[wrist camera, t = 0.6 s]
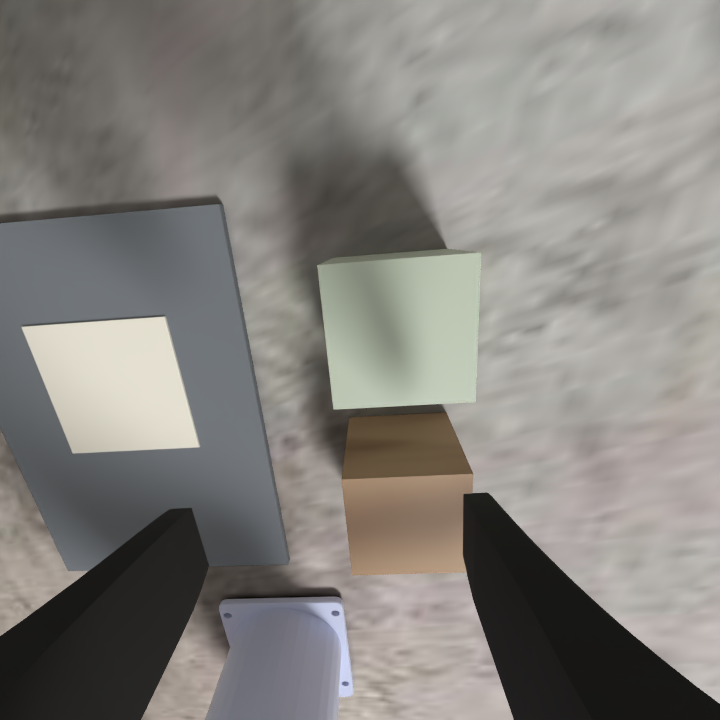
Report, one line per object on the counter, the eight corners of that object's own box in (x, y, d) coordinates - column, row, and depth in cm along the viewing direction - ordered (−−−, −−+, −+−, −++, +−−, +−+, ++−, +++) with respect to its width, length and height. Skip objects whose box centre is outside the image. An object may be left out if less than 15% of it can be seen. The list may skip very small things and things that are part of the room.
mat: (289, 558, 21) (287, 565, 21) (73, 565, 22) (66, 572, 21) (222, 205, 15) (217, 203, 14) (-82, 231, 15) (-97, 231, 15)
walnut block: (445, 491, 19) (469, 572, 15) (356, 494, 20) (352, 575, 15) (446, 411, 18) (473, 473, 13) (349, 416, 18) (341, 479, 13)
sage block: (446, 356, 17) (475, 402, 12) (344, 362, 17) (333, 409, 12) (447, 248, 15) (481, 252, 10) (334, 257, 15) (317, 265, 11)
